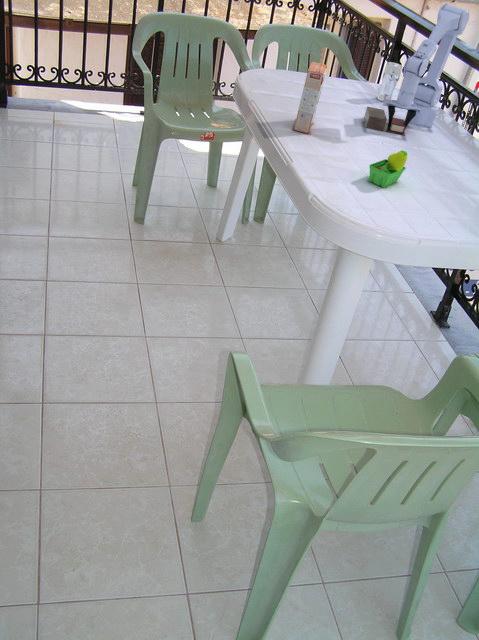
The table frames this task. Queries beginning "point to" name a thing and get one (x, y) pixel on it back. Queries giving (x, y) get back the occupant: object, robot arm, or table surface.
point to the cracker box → (310, 97)
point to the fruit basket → (388, 169)
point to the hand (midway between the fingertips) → (396, 127)
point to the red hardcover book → (397, 125)
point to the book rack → (377, 120)
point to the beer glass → (389, 80)
